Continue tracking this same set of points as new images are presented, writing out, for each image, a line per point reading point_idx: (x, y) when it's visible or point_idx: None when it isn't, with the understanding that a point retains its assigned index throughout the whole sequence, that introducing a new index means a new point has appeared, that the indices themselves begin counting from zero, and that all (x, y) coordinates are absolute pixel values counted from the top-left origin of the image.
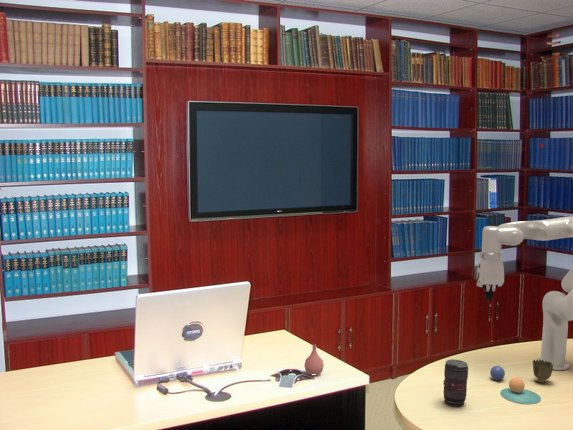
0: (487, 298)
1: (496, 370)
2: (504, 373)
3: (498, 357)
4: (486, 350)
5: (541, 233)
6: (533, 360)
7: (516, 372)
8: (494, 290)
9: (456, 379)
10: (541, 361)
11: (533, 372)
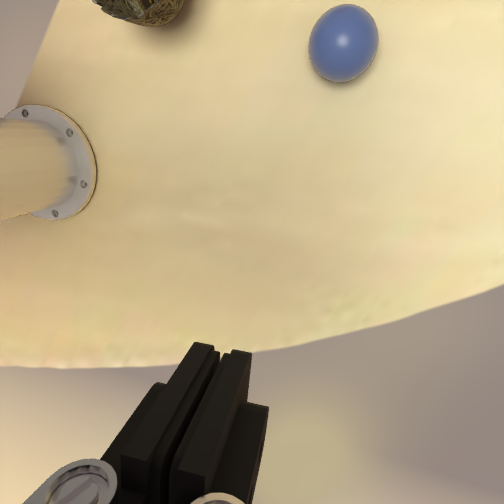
0: (243, 404)
1: (365, 15)
2: (321, 16)
3: (200, 275)
4: None
5: None
6: (151, 6)
7: (213, 120)
8: (64, 476)
9: None
10: (113, 12)
11: (182, 2)
